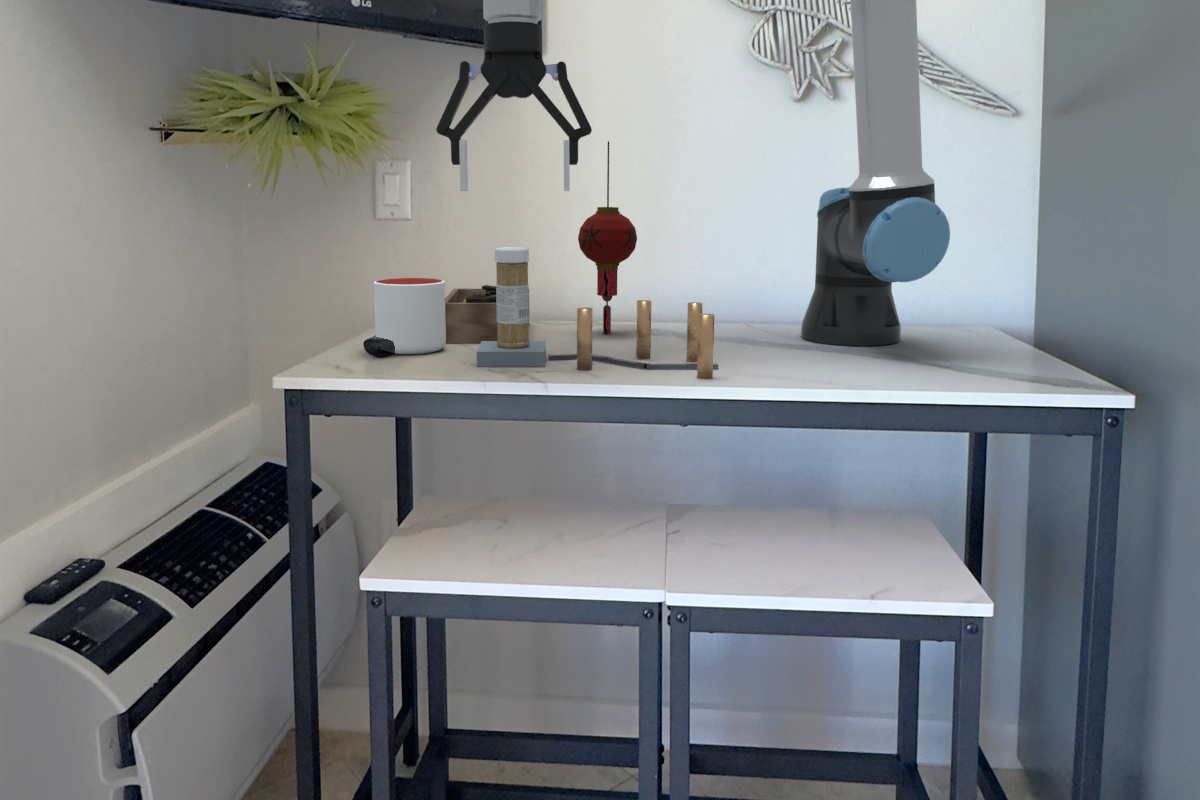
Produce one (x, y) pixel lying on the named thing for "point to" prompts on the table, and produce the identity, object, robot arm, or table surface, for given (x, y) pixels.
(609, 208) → the lantern
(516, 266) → the sprinkles bottle
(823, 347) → the table surface
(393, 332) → the cup
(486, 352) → the pad
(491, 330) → the camera corral
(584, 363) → the wire course
